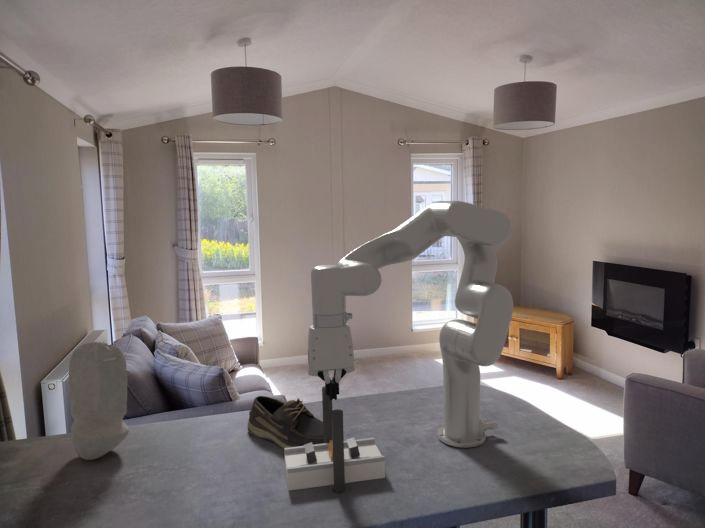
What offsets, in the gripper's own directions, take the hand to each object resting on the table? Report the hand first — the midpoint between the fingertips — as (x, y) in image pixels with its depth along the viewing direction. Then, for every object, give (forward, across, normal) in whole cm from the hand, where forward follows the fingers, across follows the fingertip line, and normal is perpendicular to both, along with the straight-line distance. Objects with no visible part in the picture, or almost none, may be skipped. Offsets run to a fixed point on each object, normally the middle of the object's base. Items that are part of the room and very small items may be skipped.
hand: (332, 397), depth 117 cm
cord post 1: (+18, 0, -7) cm, 20 cm away
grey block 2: (+14, -5, 0) cm, 15 cm away
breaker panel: (+18, 0, 0) cm, 18 cm away
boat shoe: (+19, +9, -19) cm, 28 cm away
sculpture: (+18, +56, -22) cm, 63 cm away
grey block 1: (+14, +5, 0) cm, 15 cm away
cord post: (+18, 0, +8) cm, 20 cm away
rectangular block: (+14, 0, 0) cm, 14 cm away
